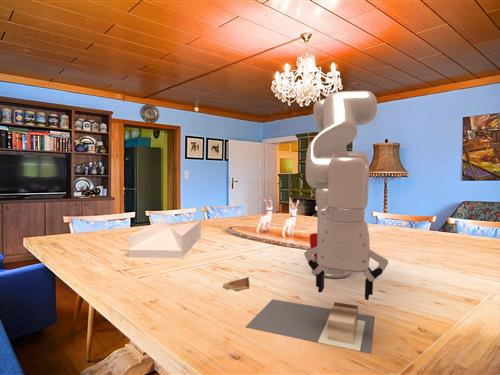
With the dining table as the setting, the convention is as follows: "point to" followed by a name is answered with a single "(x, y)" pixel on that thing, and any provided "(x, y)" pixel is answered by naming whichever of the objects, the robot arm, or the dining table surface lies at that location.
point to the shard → (237, 284)
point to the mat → (310, 324)
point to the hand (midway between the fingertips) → (343, 293)
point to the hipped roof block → (164, 240)
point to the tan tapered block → (343, 322)
